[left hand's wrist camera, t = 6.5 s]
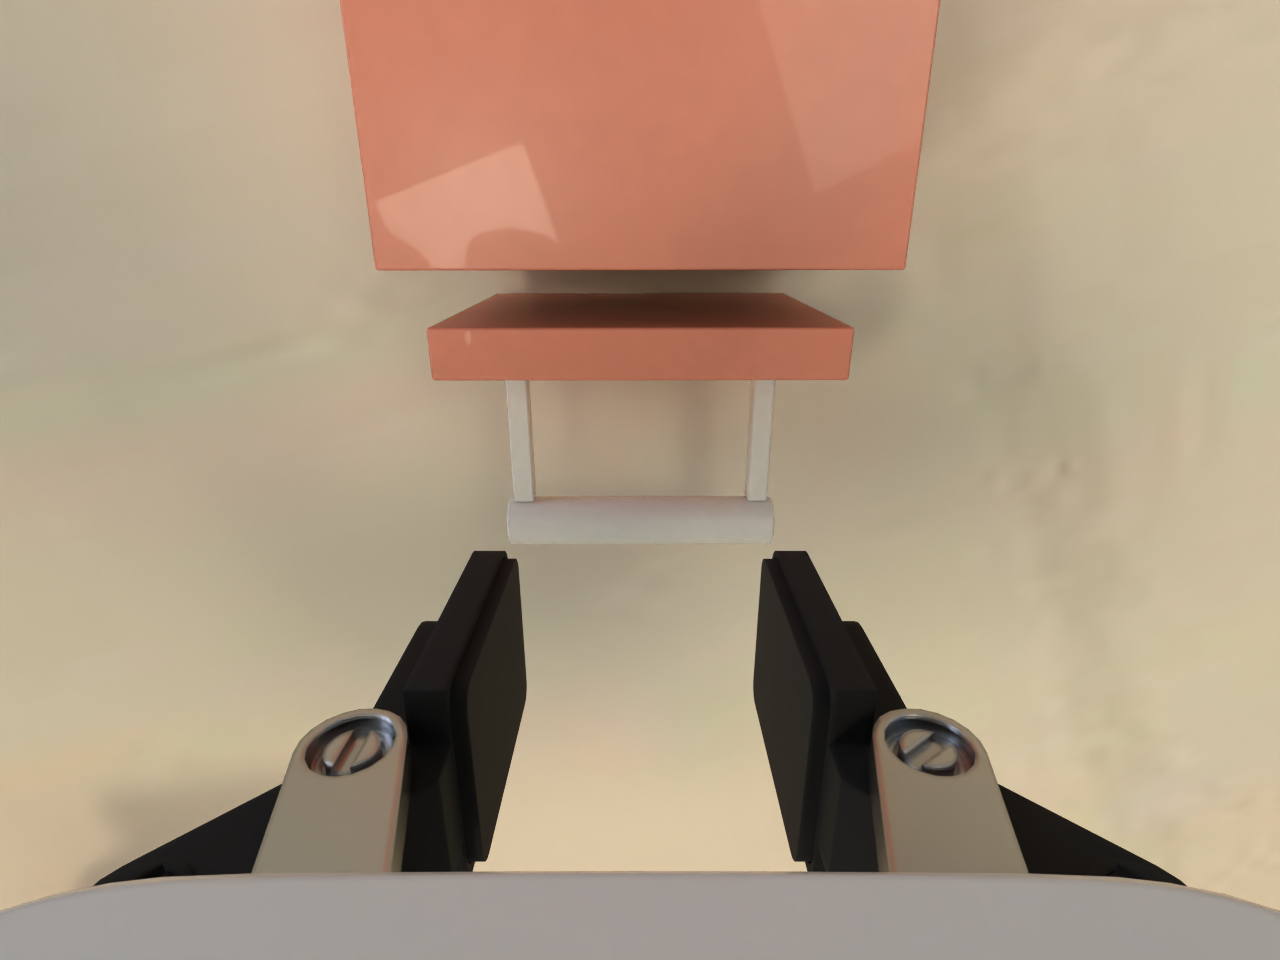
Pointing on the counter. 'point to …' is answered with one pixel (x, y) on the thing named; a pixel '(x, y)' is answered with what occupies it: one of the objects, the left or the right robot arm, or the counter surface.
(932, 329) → the counter surface
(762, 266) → the cabinet
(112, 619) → the counter surface
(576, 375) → the drawer
